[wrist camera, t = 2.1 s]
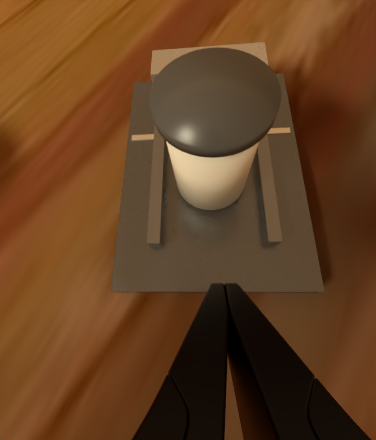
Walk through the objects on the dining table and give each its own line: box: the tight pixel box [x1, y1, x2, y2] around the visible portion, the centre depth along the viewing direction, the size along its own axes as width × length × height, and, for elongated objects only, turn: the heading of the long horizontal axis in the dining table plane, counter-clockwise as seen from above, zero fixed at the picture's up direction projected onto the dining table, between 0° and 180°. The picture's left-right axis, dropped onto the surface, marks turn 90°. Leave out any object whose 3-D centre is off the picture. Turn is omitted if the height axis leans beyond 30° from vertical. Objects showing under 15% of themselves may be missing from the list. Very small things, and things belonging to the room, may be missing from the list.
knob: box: [149, 47, 282, 210], centre depth 16 cm, size 7×7×9 cm
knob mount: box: [111, 42, 325, 292], centre depth 20 cm, size 22×16×6 cm
